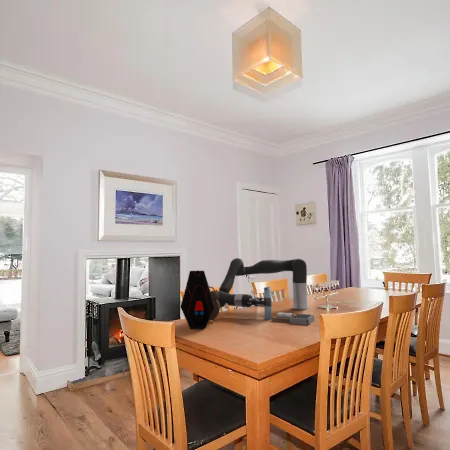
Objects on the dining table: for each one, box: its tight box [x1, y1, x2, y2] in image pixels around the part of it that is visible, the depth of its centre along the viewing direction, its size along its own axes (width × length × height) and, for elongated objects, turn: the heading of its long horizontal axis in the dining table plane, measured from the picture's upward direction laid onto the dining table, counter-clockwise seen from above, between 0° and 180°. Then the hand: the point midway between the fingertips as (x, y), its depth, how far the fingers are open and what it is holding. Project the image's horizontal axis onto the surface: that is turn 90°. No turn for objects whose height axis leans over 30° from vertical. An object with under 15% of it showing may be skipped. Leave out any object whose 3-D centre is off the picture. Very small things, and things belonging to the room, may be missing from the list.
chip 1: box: [276, 311, 287, 318], centre depth 193 cm, size 4×4×4 cm
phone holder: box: [250, 291, 275, 305], centre depth 246 cm, size 18×10×12 cm
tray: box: [289, 313, 315, 326], centre depth 188 cm, size 13×10×3 cm
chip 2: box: [284, 312, 295, 318], centre depth 191 cm, size 4×4×4 cm
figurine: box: [180, 270, 215, 330], centre depth 180 cm, size 18×8×30 cm, turn 84°
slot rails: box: [271, 315, 296, 324], centre depth 192 cm, size 10×11×2 cm
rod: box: [263, 286, 273, 321], centre depth 197 cm, size 6×4×18 cm
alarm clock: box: [209, 285, 221, 323], centre depth 193 cm, size 15×7×20 cm, turn 81°
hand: (268, 301), depth 197 cm, fingers open, 8 cm apart
